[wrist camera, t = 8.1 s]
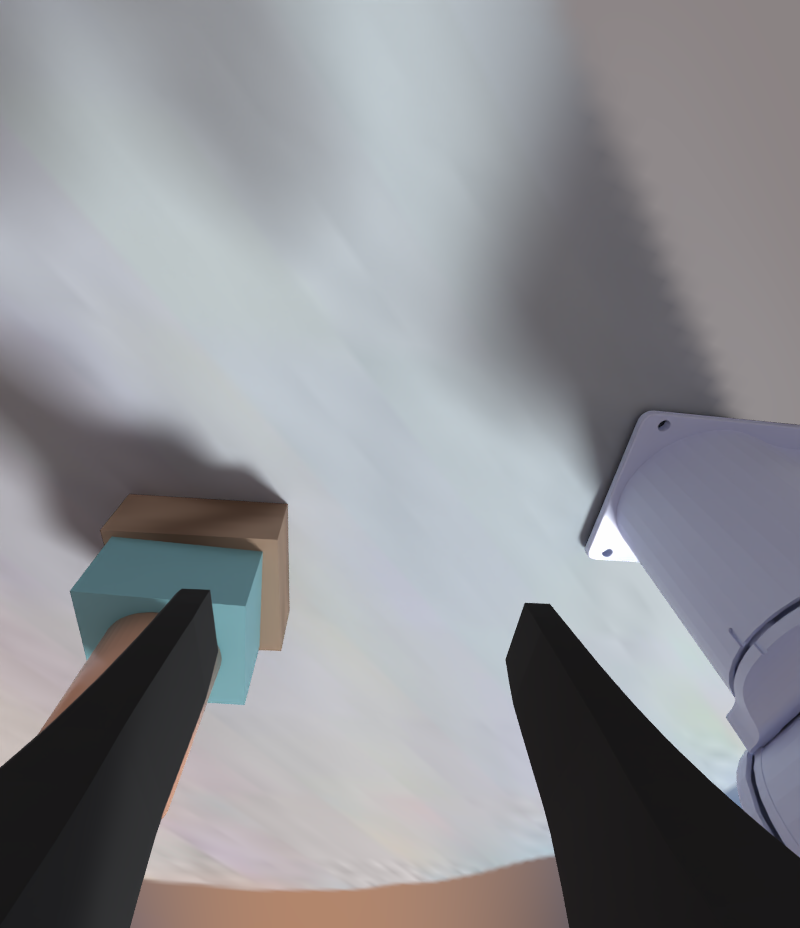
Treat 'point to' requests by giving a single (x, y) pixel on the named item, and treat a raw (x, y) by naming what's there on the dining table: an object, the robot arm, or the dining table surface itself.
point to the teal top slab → (159, 578)
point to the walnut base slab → (218, 541)
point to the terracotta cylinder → (105, 655)
